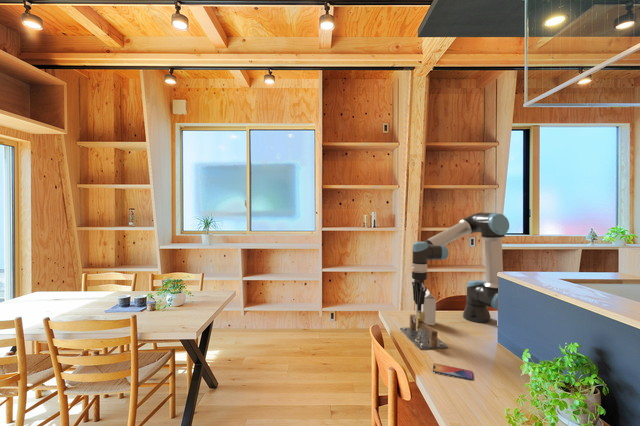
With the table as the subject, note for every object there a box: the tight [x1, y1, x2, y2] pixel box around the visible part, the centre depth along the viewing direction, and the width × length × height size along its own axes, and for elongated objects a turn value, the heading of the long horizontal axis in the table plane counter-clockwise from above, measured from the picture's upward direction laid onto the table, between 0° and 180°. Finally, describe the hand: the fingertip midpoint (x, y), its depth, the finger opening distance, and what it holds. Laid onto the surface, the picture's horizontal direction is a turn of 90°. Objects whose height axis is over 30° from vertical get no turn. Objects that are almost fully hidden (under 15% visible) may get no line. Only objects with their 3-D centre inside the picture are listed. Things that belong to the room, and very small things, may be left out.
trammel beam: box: [409, 314, 438, 347], centre depth 168 cm, size 3×25×7 cm, turn 8°
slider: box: [416, 312, 425, 334], centre depth 170 cm, size 4×2×11 cm, turn 98°
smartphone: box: [432, 363, 474, 381], centre depth 134 cm, size 7×15×1 cm, turn 68°
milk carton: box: [421, 288, 437, 326], centre depth 191 cm, size 7×7×19 cm
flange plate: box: [399, 326, 449, 350], centre depth 169 cm, size 14×25×2 cm, turn 8°
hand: (418, 316), depth 174 cm, fingers closed
